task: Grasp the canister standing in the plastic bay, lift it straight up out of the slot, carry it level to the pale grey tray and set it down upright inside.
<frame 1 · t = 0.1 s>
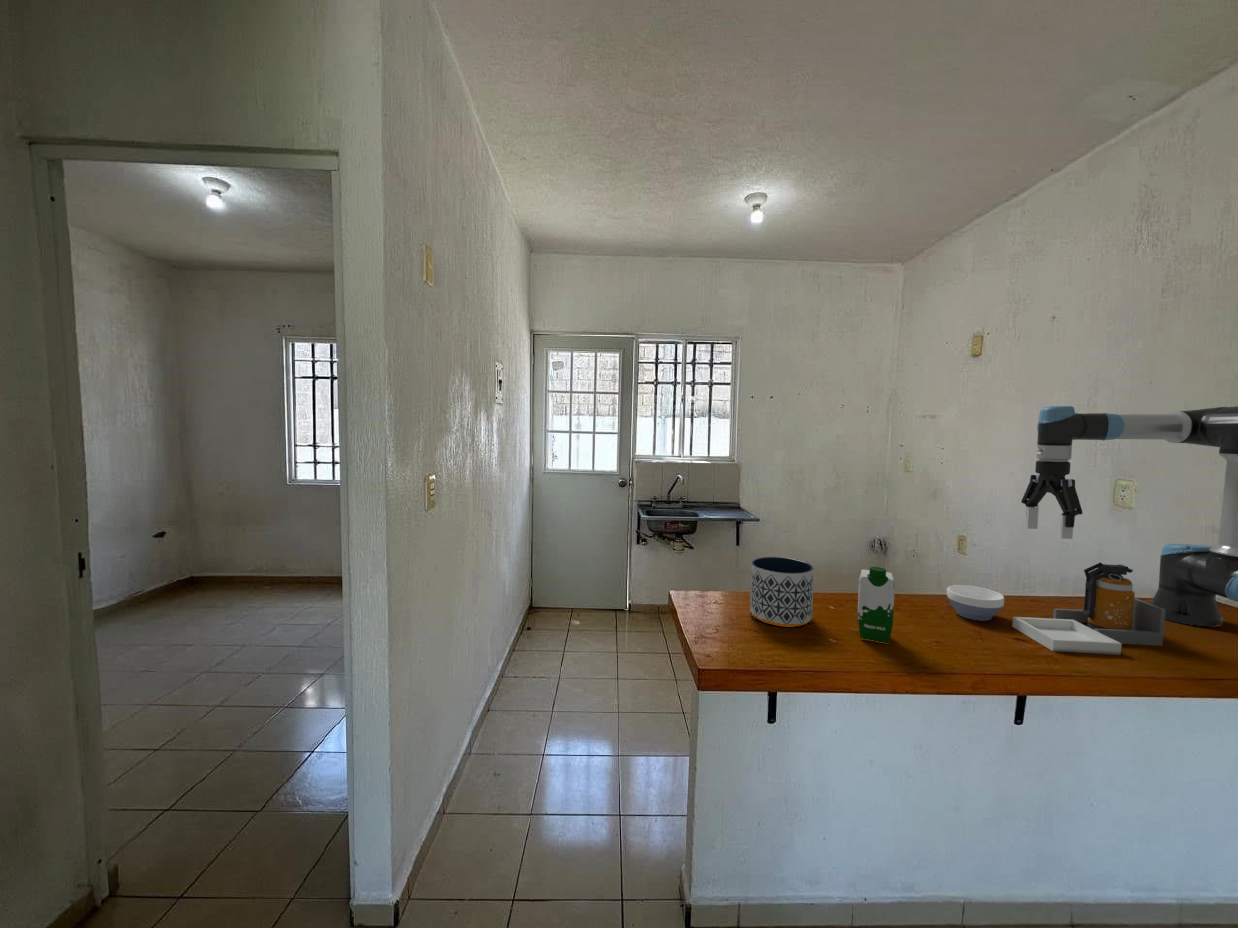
hand: (1047, 533, 144), 28 cm above the table, fingers open, 13 cm apart
bay: (1104, 631, 143), on the table
planter: (780, 617, 153), on the table
canister: (1104, 632, 143), resting in bay
bowl: (973, 616, 154), on the table
tray: (1062, 639, 137), on the table
milk carton: (874, 638, 138), on the table
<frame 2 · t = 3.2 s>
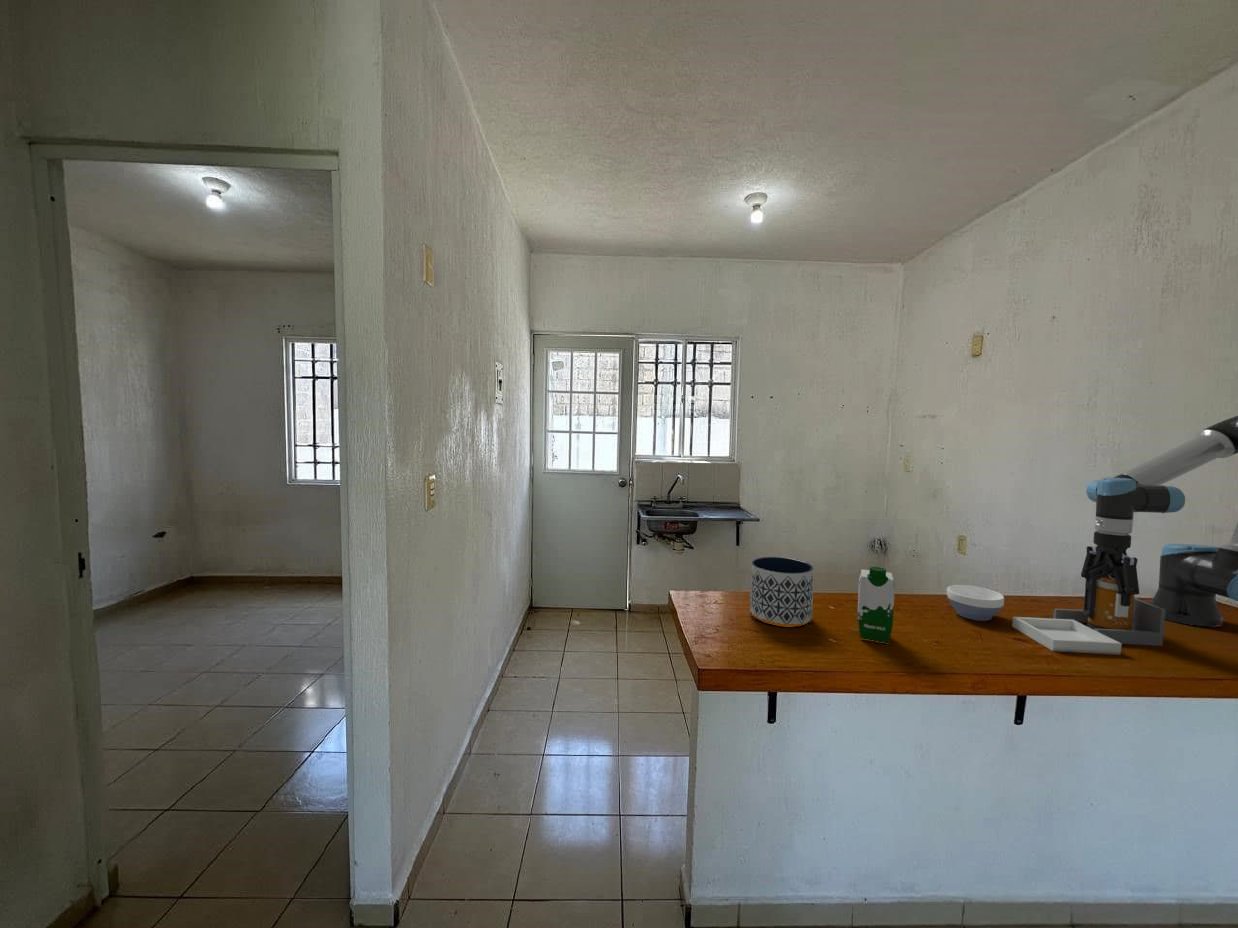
hand: (1106, 609, 142), 6 cm above the table, fingers closed on canister, 9 cm apart
canister: (1104, 632, 143), resting in bay, touching gripper
everything else where it was.
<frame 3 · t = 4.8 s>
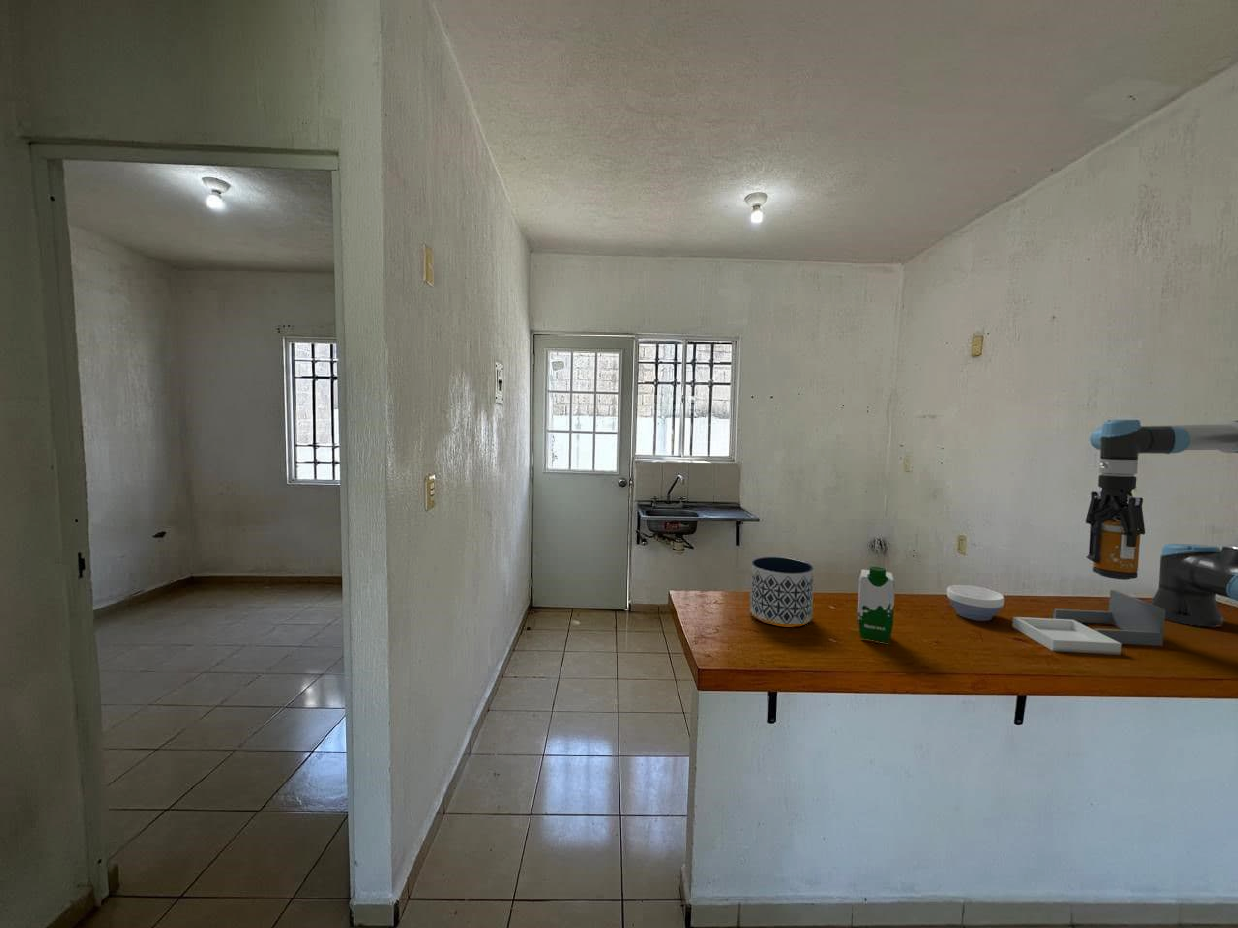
hand: (1111, 553, 141), 23 cm above the table, fingers closed on canister, 9 cm apart
canister: (1109, 576, 141), point 16 cm above the table, touching gripper
everything else where it was.
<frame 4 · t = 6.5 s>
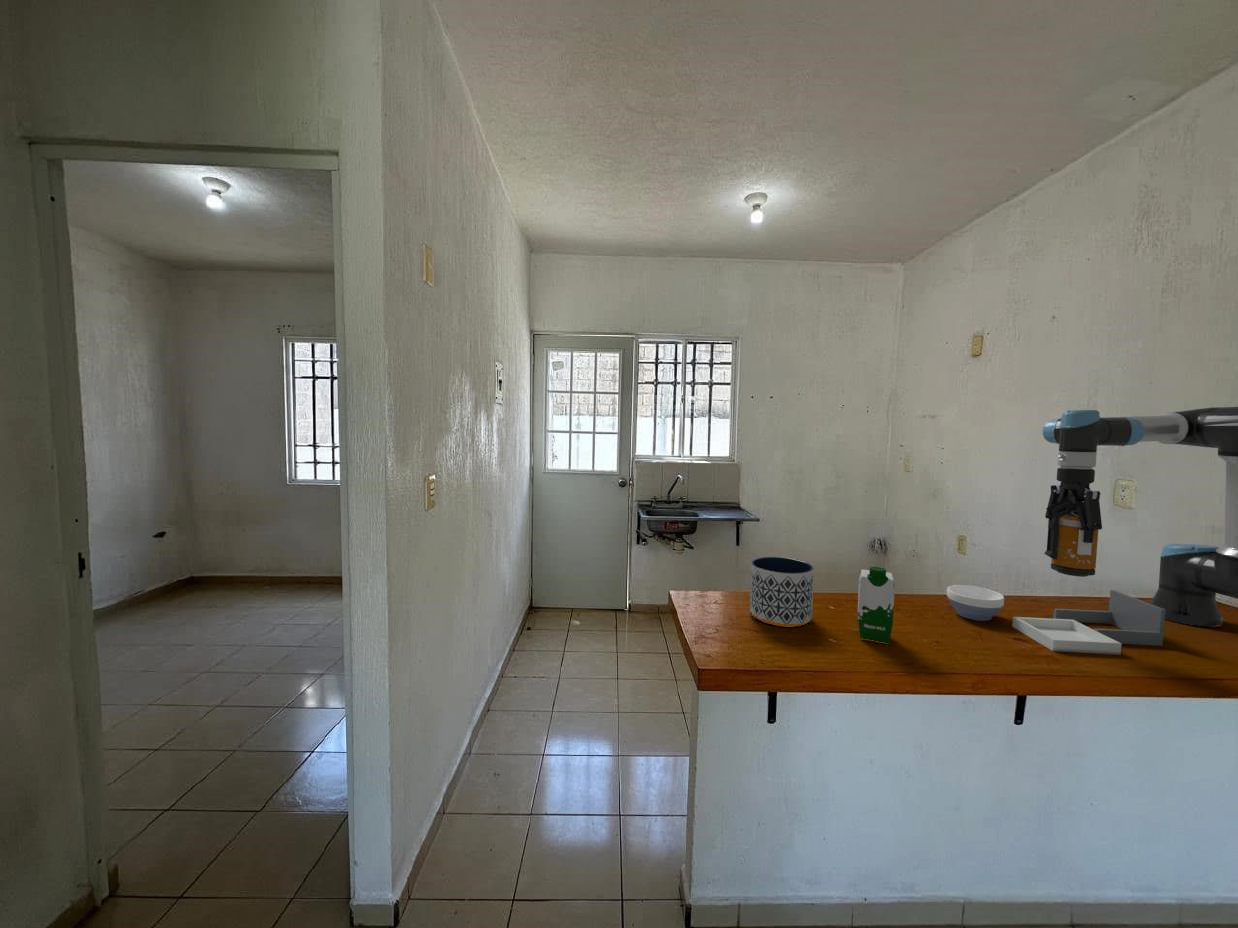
hand: (1069, 549, 135), 25 cm above the table, fingers closed on canister, 9 cm apart
canister: (1067, 573, 136), point 19 cm above the table, touching gripper
everything else where it was.
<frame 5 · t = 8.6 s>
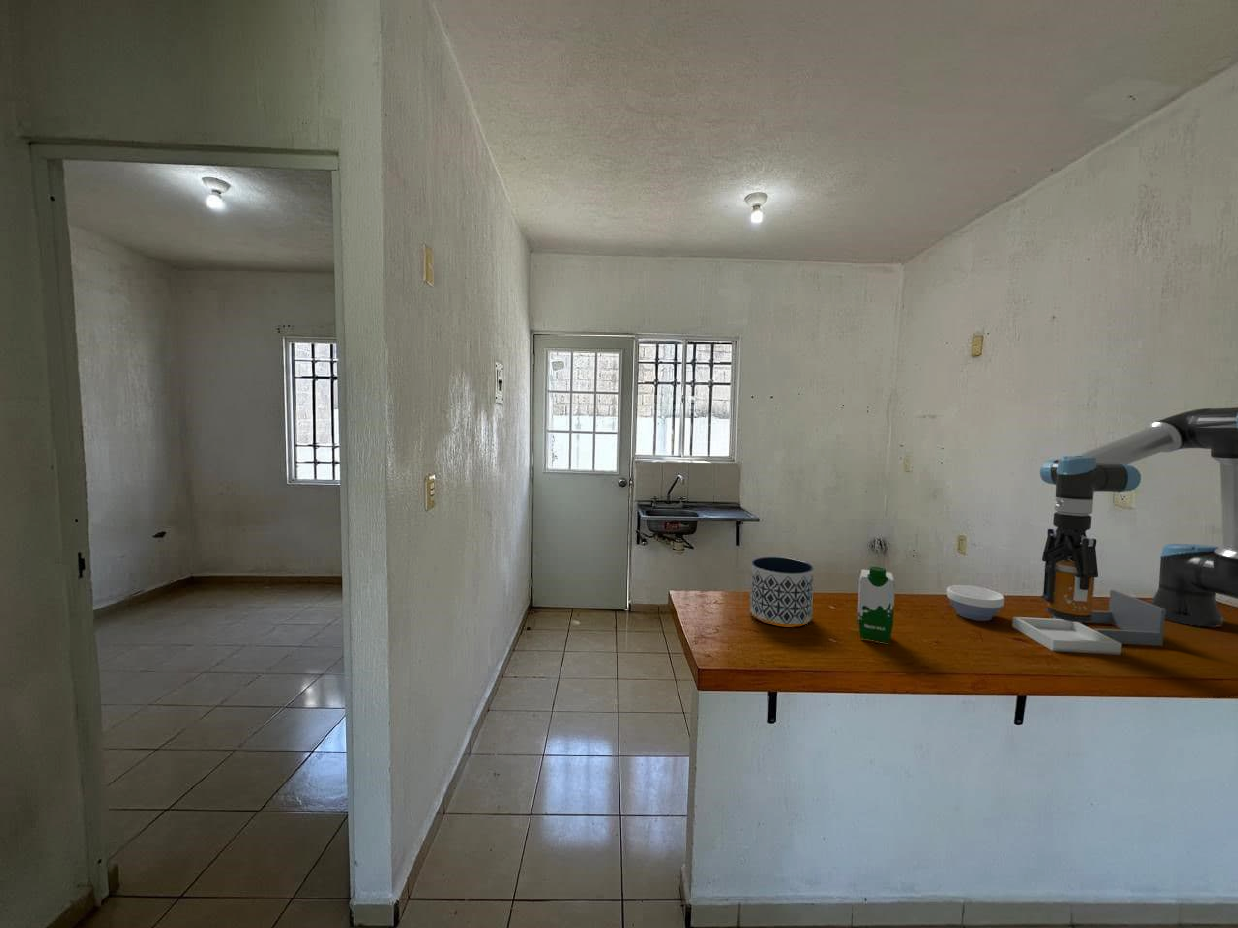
hand: (1066, 594, 136), 13 cm above the table, fingers closed on canister, 9 cm apart
canister: (1063, 617, 137), point 6 cm above the table, touching gripper
everything else where it was.
when the fingers open (9 cm above the table, at t = 10.0 s): canister drops 2 cm, resting on tray.
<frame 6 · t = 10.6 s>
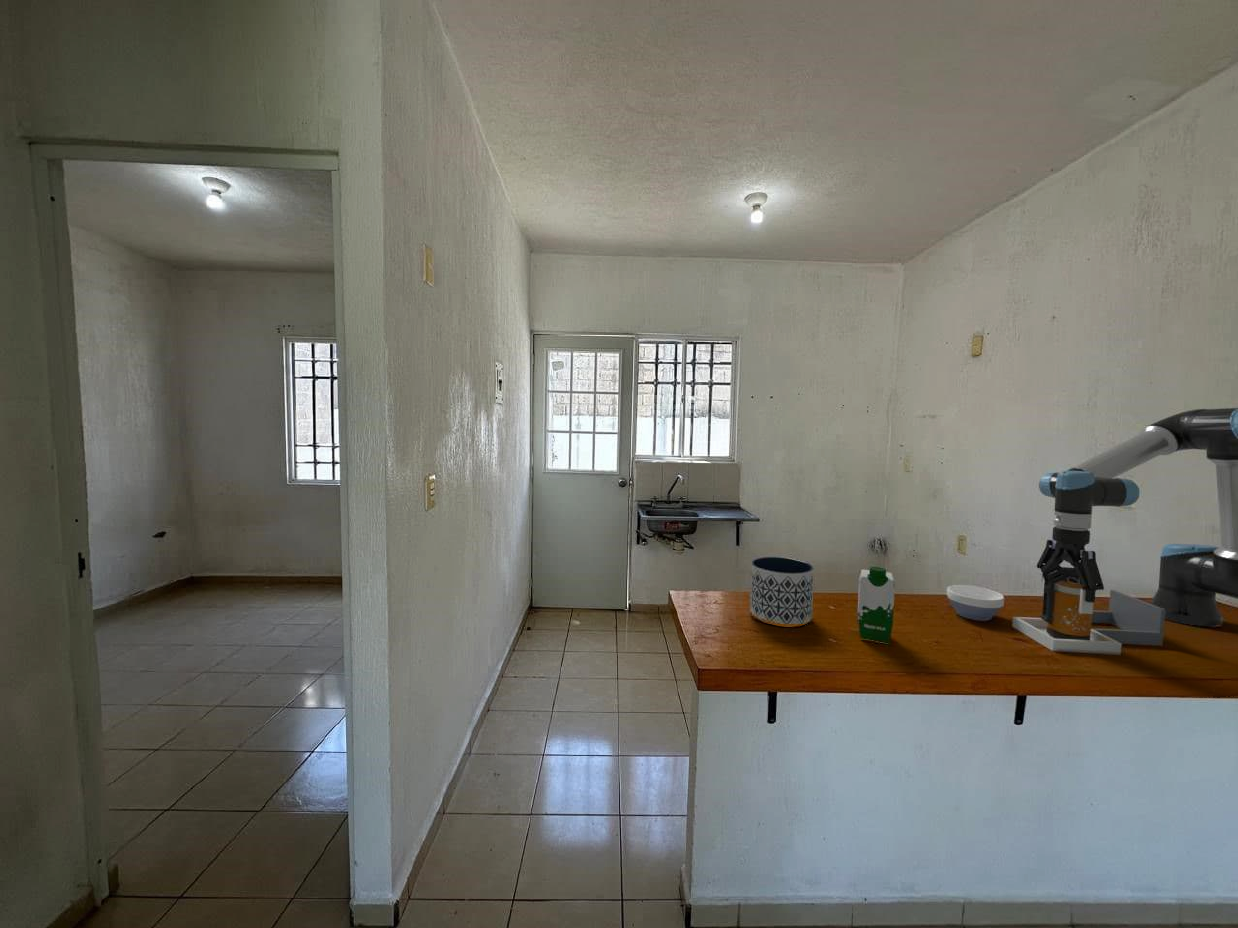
hand: (1065, 604, 136), 10 cm above the table, fingers open, 13 cm apart
canister: (1063, 638, 137), resting on tray
everything else where it was.
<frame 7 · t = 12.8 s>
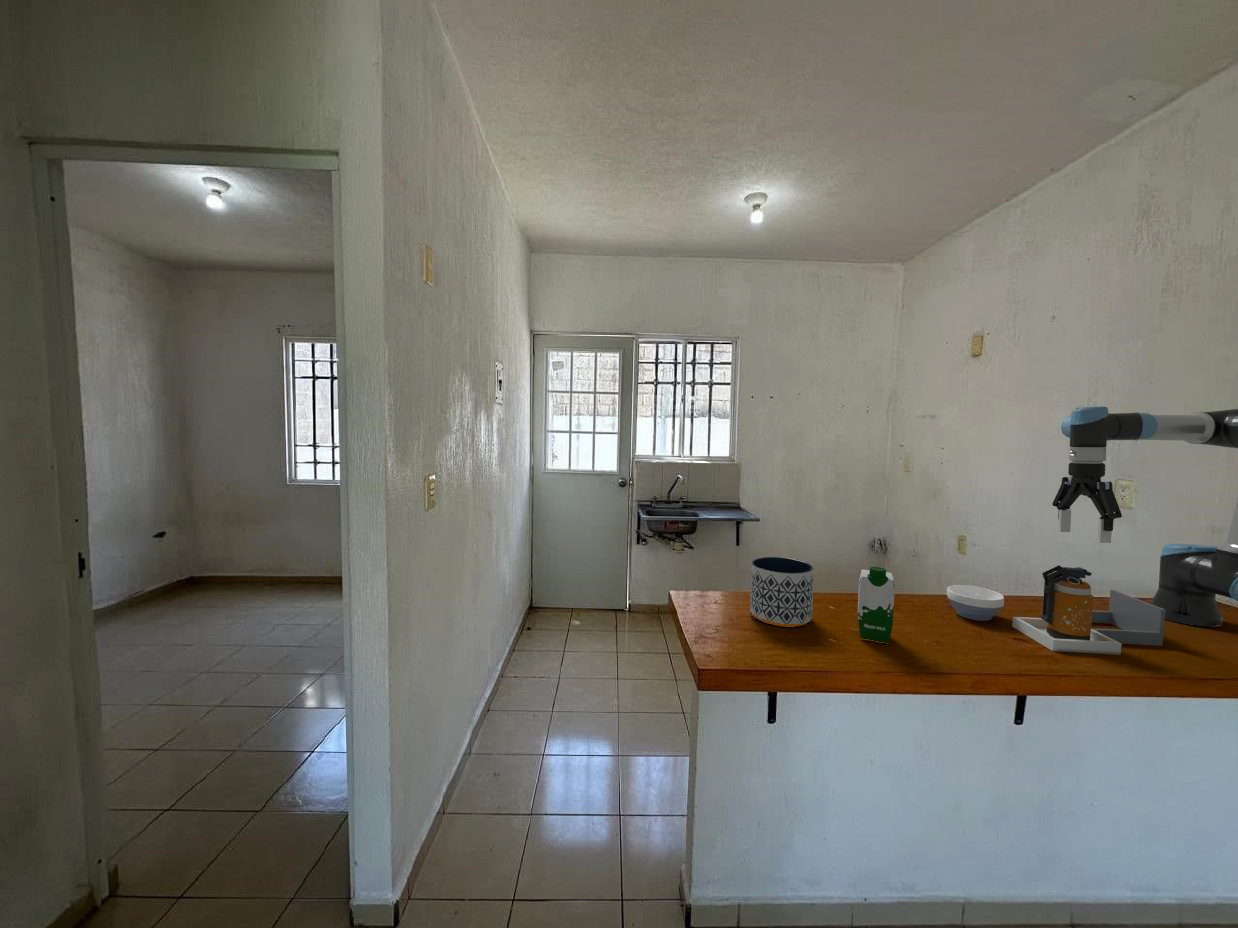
hand: (1083, 537, 140), 28 cm above the table, fingers open, 13 cm apart
nothing on the table moved.
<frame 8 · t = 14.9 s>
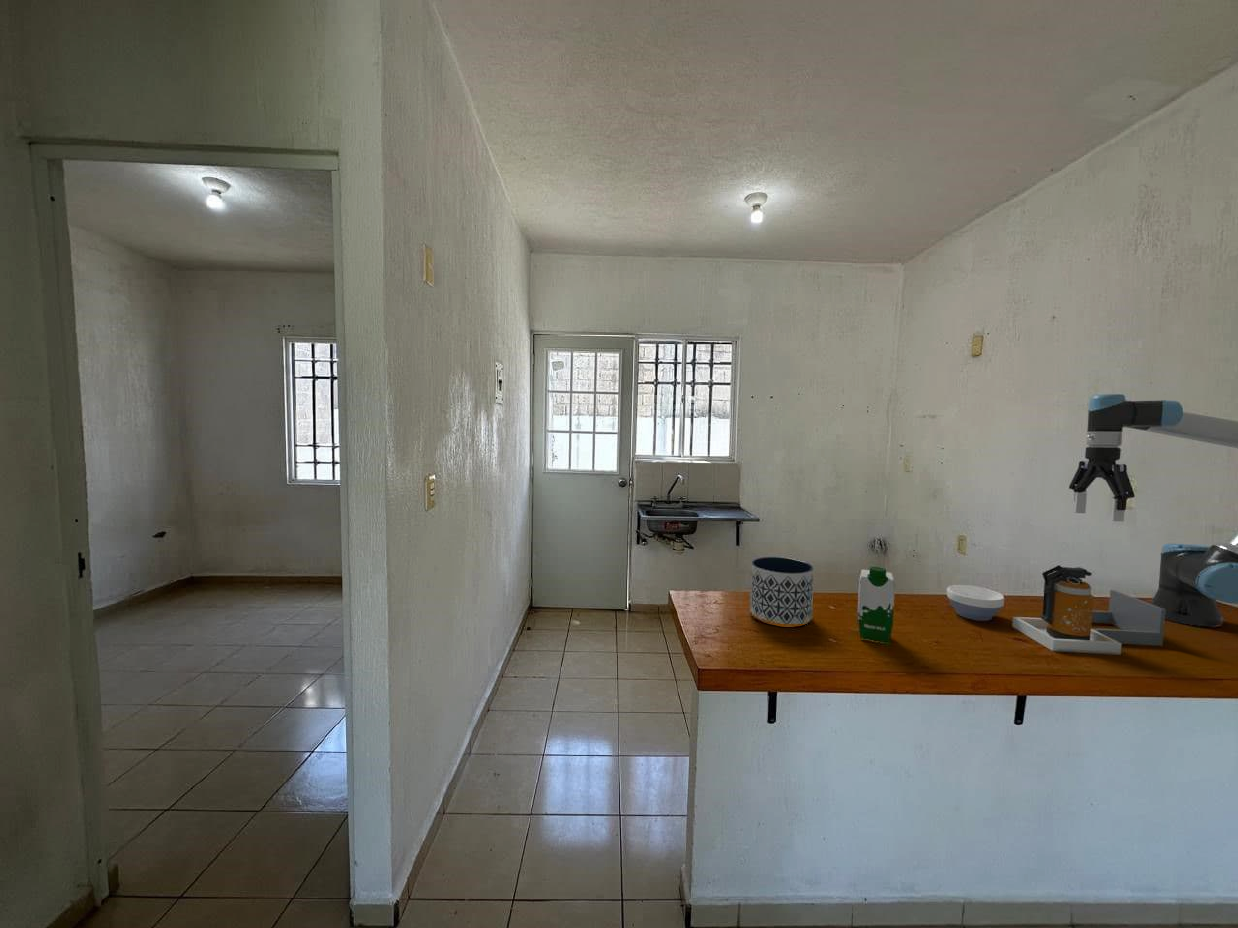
hand: (1097, 517, 150), 32 cm above the table, fingers open, 13 cm apart
nothing on the table moved.
at the end: canister inside the target area on the tray (0.1 cm from its centre), point 0.4 cm above the tray's base; canister tilted 0°; the gripper is holding nothing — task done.
